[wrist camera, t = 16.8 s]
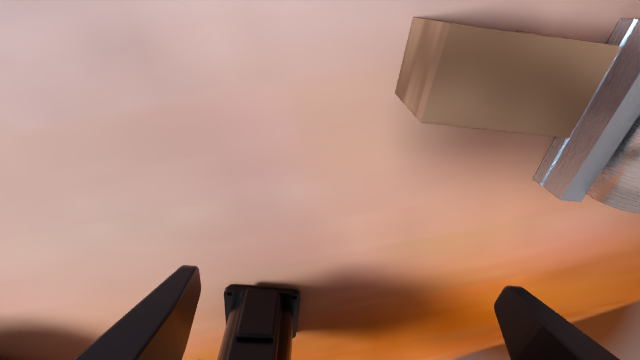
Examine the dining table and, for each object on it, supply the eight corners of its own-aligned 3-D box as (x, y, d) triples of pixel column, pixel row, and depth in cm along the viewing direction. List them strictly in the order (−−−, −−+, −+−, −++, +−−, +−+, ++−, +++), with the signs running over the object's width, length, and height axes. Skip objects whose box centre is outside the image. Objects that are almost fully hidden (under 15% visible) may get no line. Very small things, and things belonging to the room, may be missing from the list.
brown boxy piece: (509, 106, 19) (569, 138, 14) (395, 93, 18) (420, 122, 14) (541, 34, 17) (621, 46, 12) (413, 17, 16) (450, 24, 12)
